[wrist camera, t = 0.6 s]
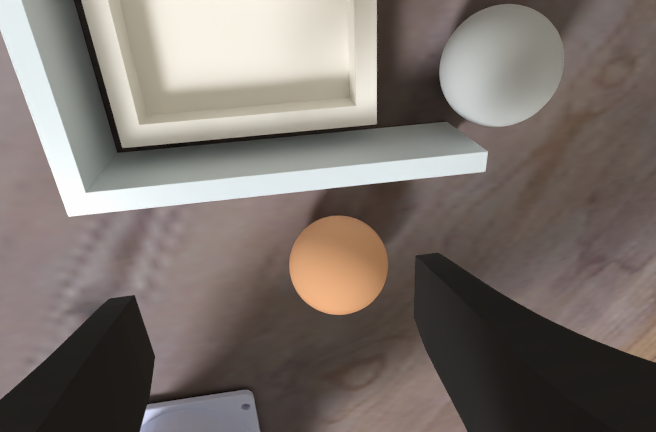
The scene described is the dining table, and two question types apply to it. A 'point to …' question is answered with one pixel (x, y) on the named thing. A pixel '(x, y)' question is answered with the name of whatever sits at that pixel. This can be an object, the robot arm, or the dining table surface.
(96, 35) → the ceramic dish
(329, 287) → the terracotta ball
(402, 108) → the dining table surface
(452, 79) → the grey ball
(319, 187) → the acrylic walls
